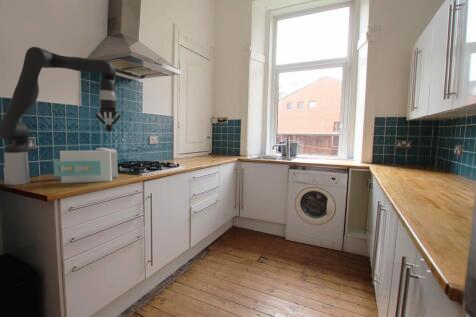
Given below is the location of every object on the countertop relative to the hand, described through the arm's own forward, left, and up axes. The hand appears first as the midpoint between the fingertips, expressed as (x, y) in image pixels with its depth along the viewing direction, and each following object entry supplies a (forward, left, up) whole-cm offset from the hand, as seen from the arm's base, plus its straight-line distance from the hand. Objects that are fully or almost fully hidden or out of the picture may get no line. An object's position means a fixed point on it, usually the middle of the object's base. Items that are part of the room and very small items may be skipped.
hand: (109, 131), depth 133 cm
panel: (-16, +2, -24) cm, 29 cm away
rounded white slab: (-8, +30, -29) cm, 43 cm away
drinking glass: (-29, +21, -29) cm, 46 cm away
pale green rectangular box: (-14, +6, -29) cm, 33 cm away
